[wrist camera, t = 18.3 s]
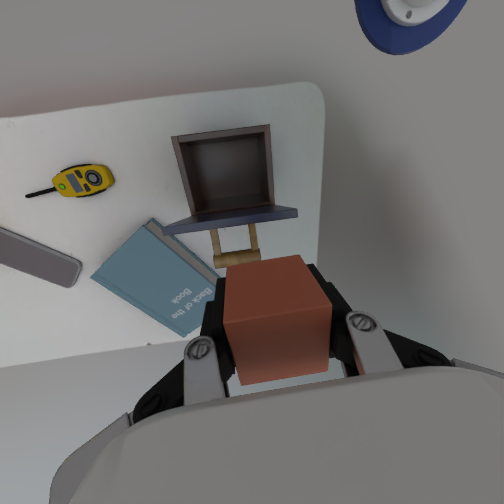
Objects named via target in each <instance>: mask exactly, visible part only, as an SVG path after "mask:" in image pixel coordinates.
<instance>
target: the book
mask: <svg viewBox="0 0 504 504" xmlns="http://www.w3.org/2000/svg"><path fill="white" fill-rule="evenodd" d="M161 227H163V226H162V225H161V224H160V223H158V222H157V221H156V220H155V219H154V218H152V219H151V220H150V221H149V222H148V223H147V224H146V225H143V226H142V227H141V228H139V229H138V230H137V231H136V232H135V233H134V234H133V235H132V236H131V237H130V238H129V239H128V240H127V241H126V242H125V243H124V244H123V245H122V246H121V247H120V248H119V249H118V250H117V251H116V252H115V253H114V254H113V255H112V256H111V257H110V258H109V259H108V260H107V261H106V262H105V263H104V264H103V265H102V266H101V267H100V268H99V269H98V270H97V271H96V272H95V273H94V274H93V275H92V276H91V277H90V278H91V279H93V280H94V281H96V282H98V283H99V284H101V285H102V286H104V287H105V288H107V289H109V290H110V291H112V292H113V293H115V294H116V295H118V296H119V297H121V298H123V299H124V300H126V301H127V302H129V303H130V304H132V305H133V306H135V307H137V308H138V309H140V310H141V311H143V312H144V313H146V314H147V315H149V316H151V317H152V318H154V319H155V320H157V321H158V322H160V323H162V324H163V325H165V326H166V327H168V328H169V329H171V330H172V331H174V332H176V333H177V334H179V335H180V336H182V337H185V336H187V334H189V333H191V332H192V331H194V330H195V329H196V328H198V327H199V326H200V325H202V321H203V316H204V311H205V305H206V302H207V301H212V300H214V296H215V288H216V281H217V279H218V278H221V277H220V276H218V275H217V274H216V273H215V272H214V271H213V270H212V269H211V268H209V267H208V266H207V265H206V264H205V263H204V262H203V261H201V260H200V259H199V258H198V257H197V256H196V255H195V254H194V253H192V252H191V251H190V250H189V249H188V248H187V247H186V246H185V245H183V244H182V243H181V242H180V241H179V240H178V239H177V238H175V237H174V236H173V235H167V236H163V233H162V229H161Z"/></svg>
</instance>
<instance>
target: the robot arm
mask: <svg viewBox="0 0 504 504" xmlns="http://www.w3.org/2000/svg"><path fill="white" fill-rule="evenodd" d="M449 1H450V0H381V3H382V6H383V9H384V10H385V12H386V14H387V15H388V17H389V18H390V19H391V20H392V21H393V22H395V23H397V24H399V25H401V26H406V27H409V26H416V25H419V24H421V23H423V22H425V21H427V20H428V19H430V18H431V17H433V16H434V15H435V14H437V13H438V12H439V11H440V10H441V9H442V8H443V7H444V6H445V5H446V4H447V3H448V2H449ZM306 266H307V267H308V269H309V270H310V272H311V273H312V275H313V276H314V278H315V279H316V281H317V282H318V284H319V285H320V287H321V288H322V290H323V291H324V293H325V295H326V296H327V298H328V299H329V301H330V302H331V304H332V317H331V332H330V347H329V358H334V357H335V358H336V359H338V360H340V361H341V366H342V370H343V373H344V377H345V378H341V379H335V380H329V381H323V382H317V383H310V384H304V385H298V386H292V387H286V388H281V389H274V390H268V391H263V392H257V393H251V394H245V395H239V396H234V397H230V393H229V388H228V384H227V381H228V380H229V378H230V377H231V376H232V374H235V367H236V366H235V363H234V359H233V356H232V352H231V349H230V345H229V342H228V338H227V335H226V331H225V328H224V325H223V316H224V301H225V286H226V277H224V278H218V279H217V281H216V288H215V296H214V300H212V301H207V302H206V305H205V311H204V316H203V321H202V327H201V332H200V336H198V337H196V338H194V339H192V340H191V341H190V342H189V343H188V344H187V346H186V348H185V350H184V359H183V360H182V361H181V362H180V363H179V364H178V365H176V366H175V367H174V368H173V369H172V370H171V371H170V372H169V373H167V375H165V376H164V377H163V378H162V379H161V380H160V381H159V382H157V384H155V385H154V386H153V387H152V388H151V389H150V390H149V391H147V392H146V393H145V394H144V395H143V396H142V397H141V398H140V400H139V401H138V403H137V404H136V406H135V408H134V410H133V411H132V412H131V413H129V414H128V413H127V412H126V413H125V414H124V415H122V416H121V417H120V418H118V419H117V420H116V421H114V422H113V423H112V424H110V425H109V426H108V427H106V428H105V429H104V430H102V431H101V432H100V433H98V434H97V435H96V436H94V437H93V438H92V439H91V440H89V441H88V442H87V443H85V444H84V445H82V446H81V447H80V448H78V449H77V450H76V451H74V452H73V453H72V454H71V455H70V456H69V457H68V458H67V459H66V460H65V461H64V462H63V464H62V465H61V466H60V467H59V469H58V470H57V472H56V474H55V476H54V478H53V480H52V484H51V488H50V498H49V504H504V373H501V372H497V371H494V370H491V369H487V368H484V367H481V366H477V365H474V364H471V363H467V362H464V361H461V360H458V359H454V358H453V359H452V361H451V360H448V359H447V358H446V357H445V356H444V355H443V354H442V353H440V352H438V351H437V350H435V349H433V348H431V347H428V346H426V345H423V344H420V343H418V342H415V341H413V340H410V339H408V338H405V337H403V336H400V335H397V334H395V333H392V332H390V331H387V330H384V329H382V327H381V325H380V323H379V321H378V320H377V319H376V318H375V317H374V316H372V315H371V314H369V313H366V312H363V311H353V310H352V309H351V308H350V306H349V305H348V304H347V302H346V301H345V300H344V298H343V297H342V296H341V294H340V293H339V292H338V290H337V289H336V288H335V286H334V285H333V284H332V283H331V282H326V281H325V279H324V278H323V276H322V275H321V274H320V272H319V271H318V270H317V268H316V267H315V265H314V264H307V265H306Z"/></svg>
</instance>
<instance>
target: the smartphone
mask: <svg viewBox="0 0 504 504" xmlns="http://www.w3.org/2000/svg"><path fill="white" fill-rule="evenodd" d="M0 264H3V265H6V266H8V267H11V268H14V269H16V270H19V271H22V272H25V273H27V274H30V275H33V276H35V277H38V278H41V279H43V280H46V281H49V282H51V283H54V284H57V285H59V286H62V287H65V288H71V287H72V286H73V285H74V284H75V282H76V279H77V277H78V274H79V272H80V269H81V267H82V264H81V263H80V262H79V261H78V260H75V259H73V258H71V257H68V256H66V255H64V254H61V253H59V252H56V251H54V250H52V249H49V248H47V247H45V246H42V245H40V244H38V243H35V242H33V241H30V240H28V239H26V238H23V237H21V236H19V235H16V234H14V233H12V232H9V231H7V230H4V229H2V228H0Z"/></svg>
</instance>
